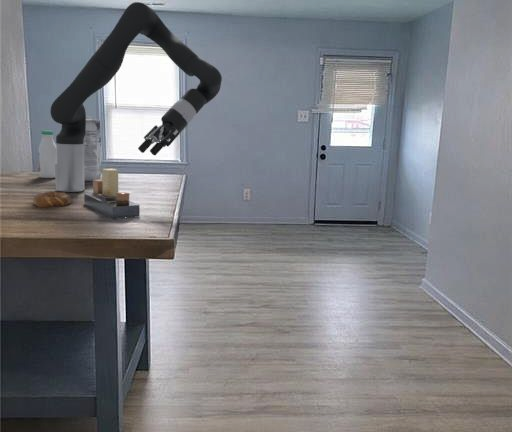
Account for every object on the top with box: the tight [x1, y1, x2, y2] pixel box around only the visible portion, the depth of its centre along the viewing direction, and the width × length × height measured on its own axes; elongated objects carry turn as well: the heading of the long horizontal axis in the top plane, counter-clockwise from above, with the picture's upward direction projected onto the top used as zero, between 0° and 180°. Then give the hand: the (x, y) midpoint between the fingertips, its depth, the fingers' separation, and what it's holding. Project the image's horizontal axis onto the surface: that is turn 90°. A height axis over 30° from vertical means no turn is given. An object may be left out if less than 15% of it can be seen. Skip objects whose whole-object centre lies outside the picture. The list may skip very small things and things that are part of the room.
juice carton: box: [83, 115, 102, 182], centre depth 195 cm, size 9×10×27 cm
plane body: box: [83, 178, 141, 220], centre depth 140 cm, size 24×8×8 cm, turn 38°
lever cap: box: [101, 168, 119, 198], centre depth 139 cm, size 4×4×9 cm
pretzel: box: [32, 191, 72, 208], centre depth 145 cm, size 12×11×4 cm
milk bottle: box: [37, 130, 57, 179], centre depth 197 cm, size 8×8×20 cm
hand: (146, 152), depth 144 cm, fingers open, 8 cm apart
